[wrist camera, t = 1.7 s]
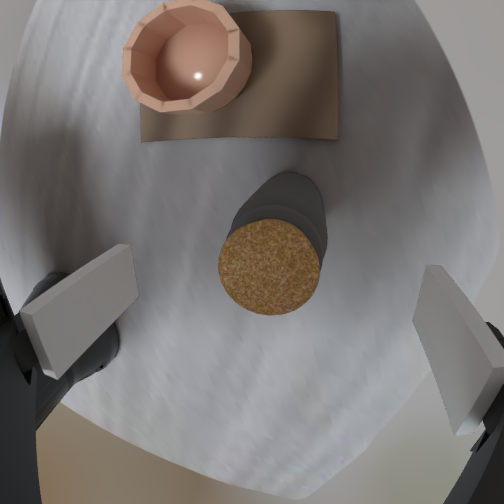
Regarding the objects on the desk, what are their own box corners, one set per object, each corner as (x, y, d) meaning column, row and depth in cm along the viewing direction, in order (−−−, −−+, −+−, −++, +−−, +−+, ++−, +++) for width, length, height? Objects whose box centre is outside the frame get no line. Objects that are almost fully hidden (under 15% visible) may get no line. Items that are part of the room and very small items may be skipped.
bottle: (282, 158, 27) (251, 181, 13) (335, 198, 27) (359, 263, 13) (245, 209, 29) (184, 279, 15) (296, 247, 29) (280, 345, 16)
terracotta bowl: (151, 119, 26) (121, 117, 22) (153, 27, 23) (126, 12, 18) (252, 112, 25) (239, 106, 20) (252, 13, 21) (239, -10, 17)
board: (146, 142, 28) (141, 142, 27) (147, 31, 24) (142, 28, 23) (337, 139, 25) (338, 139, 24) (334, 15, 21) (335, 11, 20)
